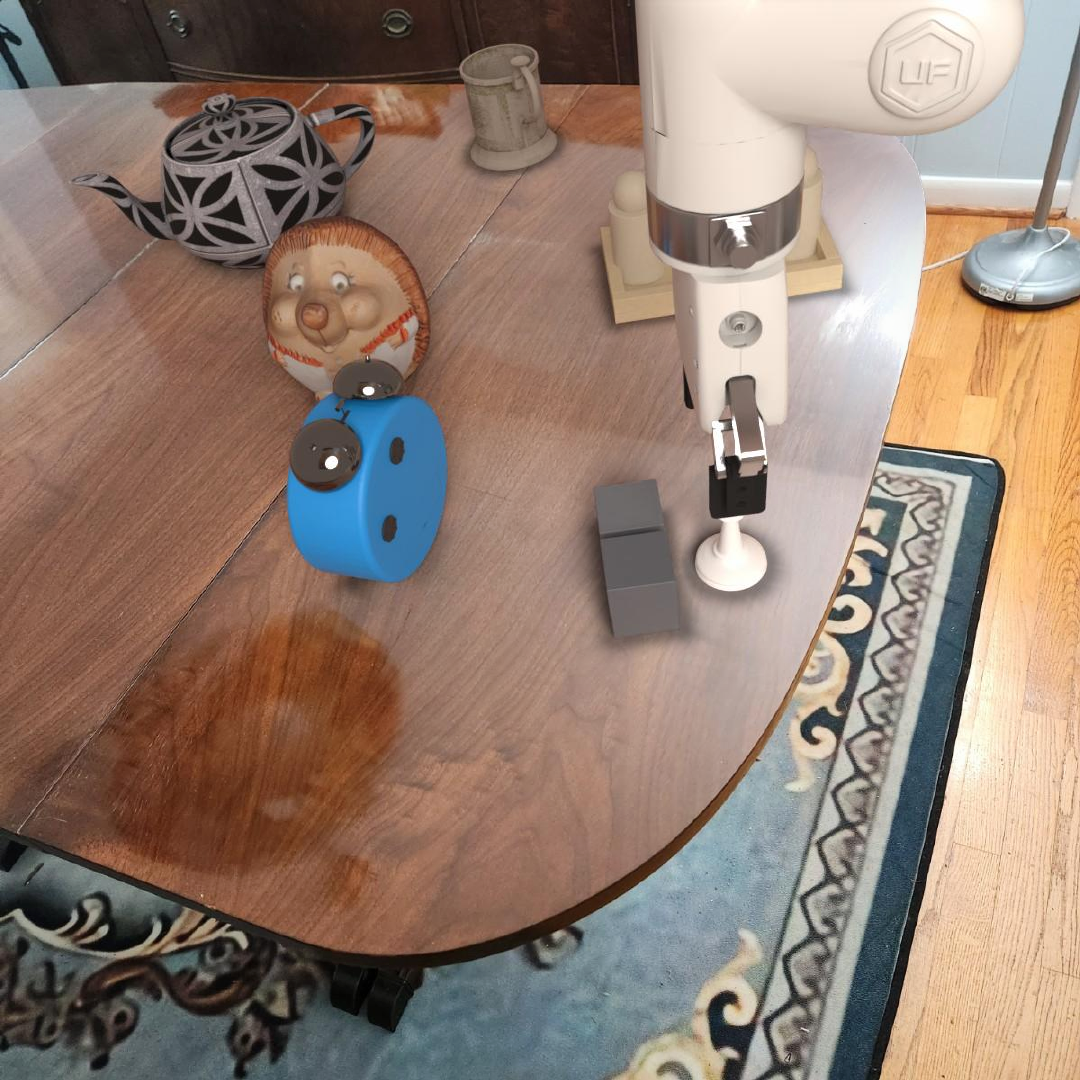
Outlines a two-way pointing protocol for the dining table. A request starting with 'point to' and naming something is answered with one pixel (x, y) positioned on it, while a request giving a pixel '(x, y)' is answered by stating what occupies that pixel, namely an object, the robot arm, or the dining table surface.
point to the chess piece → (730, 558)
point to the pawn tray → (648, 280)
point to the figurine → (341, 301)
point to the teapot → (242, 177)
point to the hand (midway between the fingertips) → (722, 455)
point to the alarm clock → (367, 477)
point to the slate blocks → (636, 559)
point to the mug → (506, 107)
